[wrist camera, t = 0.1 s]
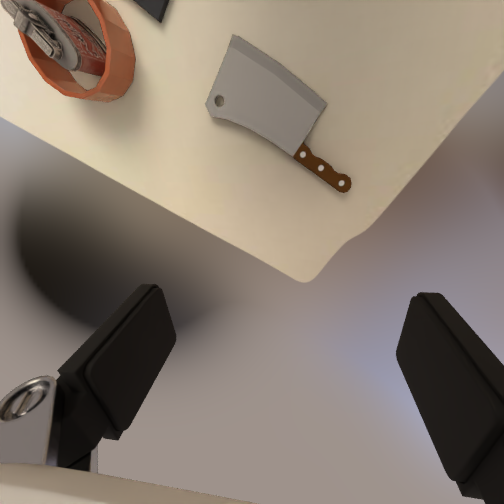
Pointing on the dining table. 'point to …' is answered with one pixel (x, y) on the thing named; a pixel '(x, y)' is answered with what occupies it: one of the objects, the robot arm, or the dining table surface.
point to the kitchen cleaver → (270, 105)
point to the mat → (154, 7)
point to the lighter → (59, 36)
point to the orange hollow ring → (117, 57)
